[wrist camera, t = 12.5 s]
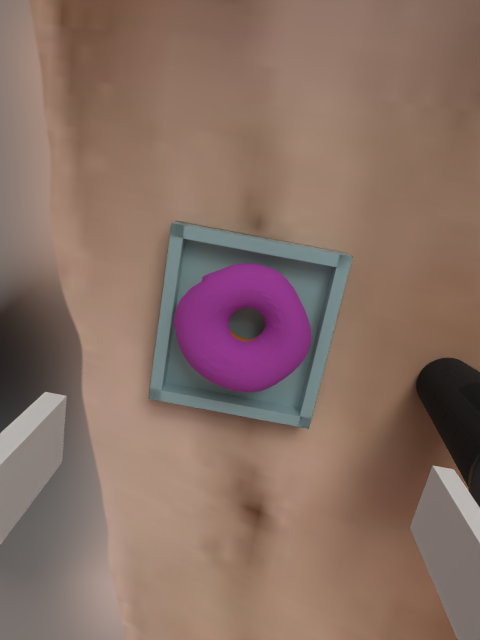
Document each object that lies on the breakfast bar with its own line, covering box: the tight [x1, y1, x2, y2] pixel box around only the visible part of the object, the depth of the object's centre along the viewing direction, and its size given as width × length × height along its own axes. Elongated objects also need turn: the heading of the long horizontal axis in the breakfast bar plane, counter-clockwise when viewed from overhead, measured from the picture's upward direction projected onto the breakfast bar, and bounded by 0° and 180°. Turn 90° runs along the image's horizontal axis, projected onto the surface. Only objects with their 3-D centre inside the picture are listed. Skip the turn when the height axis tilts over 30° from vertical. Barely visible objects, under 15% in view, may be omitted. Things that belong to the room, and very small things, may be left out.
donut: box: [174, 263, 312, 392], centre depth 34 cm, size 10×10×5 cm
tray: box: [149, 221, 352, 429], centre depth 36 cm, size 15×14×2 cm
